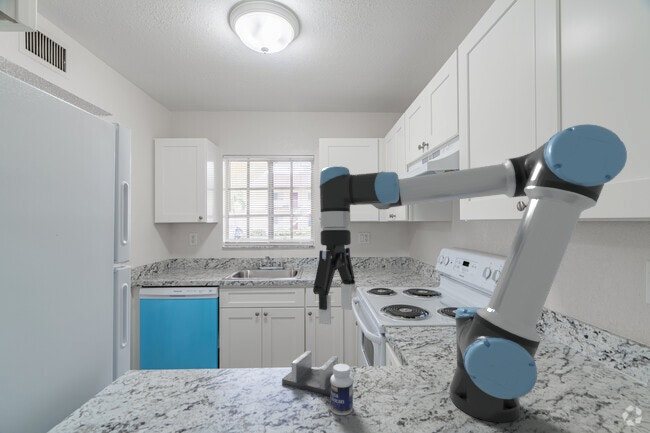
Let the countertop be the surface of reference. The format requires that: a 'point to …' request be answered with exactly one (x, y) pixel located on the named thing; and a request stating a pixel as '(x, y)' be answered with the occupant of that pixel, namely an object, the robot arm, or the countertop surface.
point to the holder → (310, 375)
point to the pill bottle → (341, 390)
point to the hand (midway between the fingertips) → (336, 315)
